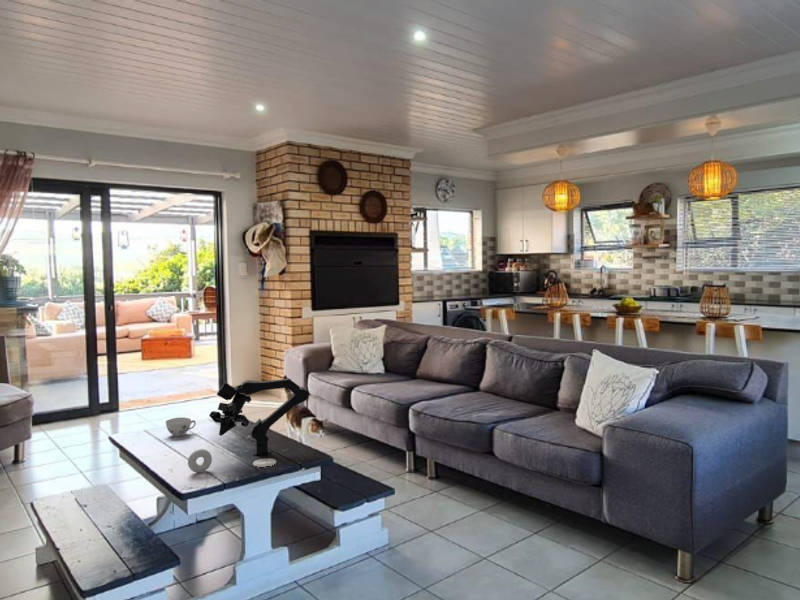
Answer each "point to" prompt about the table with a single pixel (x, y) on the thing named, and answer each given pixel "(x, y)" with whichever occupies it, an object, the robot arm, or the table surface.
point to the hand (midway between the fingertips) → (220, 435)
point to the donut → (195, 456)
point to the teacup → (179, 425)
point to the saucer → (264, 462)
